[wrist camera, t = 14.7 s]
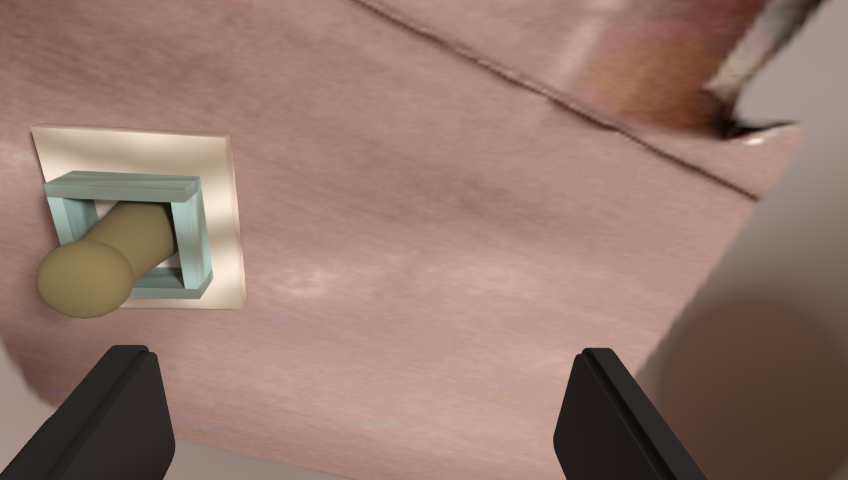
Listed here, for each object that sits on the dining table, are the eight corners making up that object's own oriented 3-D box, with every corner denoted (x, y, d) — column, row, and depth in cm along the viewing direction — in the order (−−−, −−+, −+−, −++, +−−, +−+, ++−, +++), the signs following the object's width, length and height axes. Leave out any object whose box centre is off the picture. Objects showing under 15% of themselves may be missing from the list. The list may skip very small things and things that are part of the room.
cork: (121, 255, 39) (31, 333, 29) (105, 188, 36) (1, 248, 26) (194, 257, 39) (132, 333, 29) (184, 191, 37) (112, 251, 27)
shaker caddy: (43, 123, 35) (-6, 136, 30) (230, 133, 37) (209, 148, 32) (90, 297, 42) (55, 330, 37) (247, 300, 43) (231, 331, 39)
